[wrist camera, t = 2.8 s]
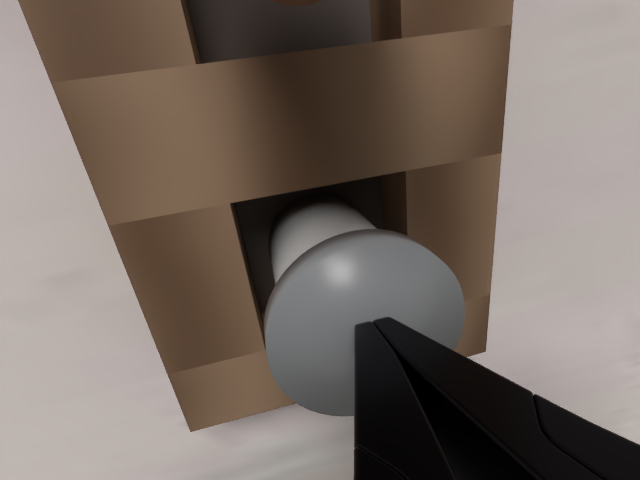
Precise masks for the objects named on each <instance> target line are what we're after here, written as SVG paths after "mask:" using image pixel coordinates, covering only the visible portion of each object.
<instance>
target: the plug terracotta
mask: <svg viewBox="0 0 640 480" xmlns="http://www.w3.org/2000/svg"><path fill="white" fill-rule="evenodd" d="M270 1H273V2H277V3H280V4H284V5H292V6H306V5H311V4H316V3H319V2H322V1H325V0H270Z"/></svg>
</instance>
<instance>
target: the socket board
mask: <svg viewBox="0 0 640 480" xmlns="http://www.w3.org/2000/svg"><path fill="white" fill-rule="evenodd" d="M18 1H19V4H20V6H21V9H22V11H23V14H24V16H25V19H26V21H27V24H28V26H29V29H30V31H31V34H32V36H33V39H34V41H35V44H36V46H37V49H38V51H39V54H40V56H41V59H42V61H43V64H44V66H45V69H46V71H47V74H48V76H49V79H50V81H51V84H52V86H53V89H54V91H55V94H56V96H57V99H58V101H59V104H60V106H61V109H62V111H63V114H64V116H65V119H66V121H67V124H68V126H69V129H70V131H71V134H72V136H73V139H74V141H75V144H76V146H77V149H78V151H79V154H80V156H81V159H82V161H83V164H84V166H85V169H86V171H87V174H88V176H89V179H90V181H91V184H92V186H93V189H94V191H95V194H96V196H97V199H98V201H99V204H100V206H101V209H102V211H103V214H104V216H105V219H106V221H107V224H108V226H109V229H110V231H111V234H112V236H113V239H114V241H115V244H116V247H117V249H118V252H119V254H120V257H121V259H122V262H123V264H124V267H125V269H126V272H127V274H128V277H129V279H130V282H131V284H132V287H133V289H134V292H135V294H136V297H137V299H138V302H139V304H140V307H141V309H142V312H143V314H144V317H145V319H146V322H147V324H148V327H149V329H150V332H151V334H152V337H153V339H154V342H155V344H156V347H157V349H158V352H159V354H160V357H161V359H162V362H163V364H164V367H165V369H166V372H167V374H168V377H169V379H170V382H171V384H172V387H173V389H174V392H175V394H176V397H177V399H178V402H179V404H180V407H181V409H182V412H183V414H184V417H185V419H186V422H187V424H188V427H189V429H190V432H192V431H196V430H200V429H203V428H207V427H211V426H214V425H218V424H222V423H225V422H229V421H233V420H236V419H240V418H244V417H247V416H251V415H255V414H258V413H262V412H266V411H269V410H273V409H277V408H280V407H284V406H288V405H291V404H295V403H296V402H294V401H293V400H291V399H290V398H289V397H288V396H287V395H286V394H285V393H284V392H283V391H282V390H281V388H280V387H279V386H278V385H277V383H276V381H275V379H274V378H273V376H272V374H271V371H270V368H269V365H268V359H267V353H266V344H265V335H264V317H265V310H266V306H267V303H268V300H269V297H270V295H271V293H272V290H273V288H274V286H275V280H274V275H273V270H272V265H271V260H270V255H269V249H268V239H269V234H270V230H271V227H272V225H273V223H274V221H275V220H276V218H277V216H278V215H279V214H280V213H281V212H282V211H283V210H284V209H285V208H286V207H287V206H288V205H290V204H291V203H292V202H294V201H296V200H298V199H300V198H303V197H305V196H309V195H314V194H328V195H334V196H337V197H340V198H342V199H344V200H346V201H347V202H349V203H350V204H351V205H353V206H354V207H355V208H356V209H357V210H358V211H359V212H360V213H361V214H362V215H363V216H364V217H365V218H366V219H367V220H368V221H369V222H370V223H371V224H372V225H373V226H374V227H376V228H377V229H383V230H390V231H394V232H398V233H402V234H404V235H406V236H409V237H411V238H413V239H415V240H416V241H418V242H419V243H421V244H422V245H424V246H425V247H426V248H427V249H428V250H430V251H431V252H432V253H433V254H435V255H436V256H437V257H438V258H439V259H441V260H442V261H443V262H444V263H445V264H446V265H447V266H448V267H449V268H450V269H451V271H452V272H453V273H454V275H455V276H456V278H457V280H458V282H459V284H460V287H461V289H462V292H463V297H464V302H465V318H464V326H463V330H462V333H461V337H460V339H459V342H458V344H457V347H456V348H455V350H454V351H455V352H457V353H459V354H461V355H463V356H465V357H467V356H471V355H475V354H478V353H482V352H486V341H487V329H488V316H489V303H490V291H491V278H492V266H493V253H494V240H495V228H496V215H497V203H498V190H499V177H500V165H501V152H502V140H503V127H504V115H505V102H506V89H507V77H508V64H509V52H510V39H511V26H512V14H513V1H514V0H325V1H322V2H319V3H316V4H311V5H306V6H292V5H284V4H280V3H277V2H273V1H270V0H18Z"/></svg>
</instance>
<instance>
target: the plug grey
mask: <svg viewBox="0 0 640 480" xmlns="http://www.w3.org/2000/svg"><path fill="white" fill-rule="evenodd" d="M268 249H269V255H270V260H271V265H272V270H273V275H274V280H275V286H274V288H273V290H272V293H271V295H270V297H269V300H268V303H267V306H266V310H265V317H264V335H265V344H266V353H267V359H268V365H269V368H270V371H271V374H272V376H273V378H274V379H275V381H276V383H277V385H278V386H279V387H280V388H281V390H282V391H283V392H284V393H285V394H286V395H287V396H288V397H289V398H290V399H291V400H293V401H294V402H296V403H297V404H299V405H301V406H303V407H305V408H307V409H309V410H312V411H315V412H318V413H322V414H327V415H333V416H354V328H355V325H356V324H359V323H364V322H368V321H371V322H373V321H374V320H376V319H380V318H384V317H391V318H393V319H395V320H397V321H399V322H401V323H403V324H405V325H406V326H408V327H410V328H412V329H414V330H416V331H418V332H420V333H422V334H423V335H425V336H427V337H429V338H431V339H433V340H435V341H437V342H438V343H440V344H442V345H444V346H446V347H448V348H450V349H452V350H455V348H456V347H457V344H458V342H459V339H460V337H461V333H462V330H463V326H464V318H465V302H464V297H463V292H462V289H461V287H460V284H459V282H458V280H457V278H456V276H455V275H454V273H453V272H452V271H451V269H450V268H449V267H448V266H447V265H446V264H445V263H444V262H443V261H442V260H441V259H439V258H438V257H437V256H436V255H435V254H433V253H432V252H431V251H430V250H428V249H427V248H426V247H425V246H424V245H422V244H421V243H419V242H418V241H416V240H415V239H413V238H411V237H409V236H406V235H404V234H402V233H398V232H394V231H390V230H383V229H377V228H376V227H374V226H373V225H372V224H371V223H370V222H369V221H368V220H367V219H366V218H365V217H364V216H363V215H362V214H361V213H360V212H359V211H358V210H357V209H356V208H355V207H354V206H353V205H351V204H350V203H349V202H347V201H346V200H344V199H342V198H340V197H337V196H334V195H328V194H314V195H309V196H305V197H303V198H300V199H298V200H296V201H294V202H292V203H291V204H290V205H288V206H287V207H286V208H285V209H284V210H283V211H282V212H281V213H280V214H279V215H278V216H277V218H276V220H275V221H274V223H273V225H272V227H271V230H270V234H269V239H268Z"/></svg>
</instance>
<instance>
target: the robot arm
mask: <svg viewBox="0 0 640 480" xmlns="http://www.w3.org/2000/svg"><path fill="white" fill-rule="evenodd" d="M354 447H355V449H354V480H640V445H639V444H637V443H634V442H632V441H630V440H628V439H626V438H624V437H621V436H619V435H617V434H615V433H613V432H611V431H609V430H606V429H604V428H602V427H600V426H598V425H596V424H593V423H591V422H589V421H587V420H585V419H583V418H581V417H579V416H577V415H576V414H574V413H572V412H570V411H568V410H566V409H564V408H562V407H560V406H558V405H556V404H554V403H552V402H550V401H548V400H546V399H544V398H543V397H541V396H539V395H537V394H535V395H533V394H532V392H531V391H529V390H527V389H525V388H523V387H522V386H520V385H518V384H516V383H514V382H512V381H510V380H508V379H506V378H505V377H503V376H501V375H499V374H497V373H495V372H493V371H491V370H489V369H488V368H486V367H484V366H482V365H480V364H478V363H476V362H474V361H472V360H471V359H469V358H467V357H465V356H463V355H461V354H459V353H457V352H455V351H454V350H452V349H450V348H448V347H446V346H444V345H442V344H440V343H438V342H437V341H435V340H433V339H431V338H429V337H427V336H425V335H423V334H422V333H420V332H418V331H416V330H414V329H412V328H410V327H408V326H406V325H405V324H403V323H401V322H399V321H397V320H395V319H393V318H391V317H384V318H380V319H376V320H374V321H373V322H371V321H368V322H364V323H359V324H356V325H355V328H354Z"/></svg>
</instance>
